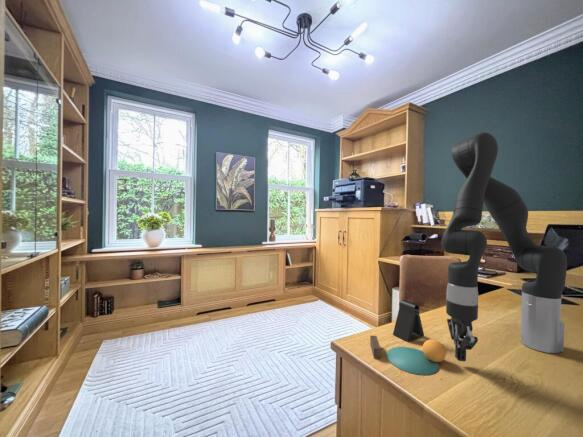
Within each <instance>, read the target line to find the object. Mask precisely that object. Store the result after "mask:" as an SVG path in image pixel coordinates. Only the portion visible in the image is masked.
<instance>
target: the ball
mask: <svg viewBox="0 0 583 437" xmlns="http://www.w3.org/2000/svg"><path fill="white" fill-rule="evenodd" d="M422 351H423V352H424V355H425V356H426V357H427V358H428V359H429V360H431V361H433V362H438V363H441V362H443V361H444V360H445V359H446V356H447V352H446V351H447V350H446V347H445V346H444V345H443V344H442V343H441V342H440V341H439V340H437V339H432V338H431V339H427V340H426V341H424V343H423V344H422Z"/></svg>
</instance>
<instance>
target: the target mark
mask: <svg viewBox="0 0 583 437" xmlns="http://www.w3.org/2000/svg"><path fill="white" fill-rule="evenodd" d="M386 359H387V360H388V361H389V363H390V364H391V365H393V366H394V367H395V368H397V369H399V370H401V371H404V372H405V373H408V374H414V375H419V376H429V375H433V374H435V373H437V372H438V371H439V369H440V366H439V362H433V361H431V360H429V359H428V358H427V357H426V356H425V355H424V352H423V350H421V349H418V348H413V347H407V346H395V347H392V348H390V349H388V350H387V351H386Z"/></svg>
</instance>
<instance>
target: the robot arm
mask: <svg viewBox="0 0 583 437" xmlns="http://www.w3.org/2000/svg"><path fill="white" fill-rule="evenodd" d="M450 151H451V152H450V153H451V158H452V160H453V162H454V163H455V165H456V167H457V168H458V170H459V171H460V172H461V173H462V175H463V176H464V177H465V178H466V180H465V181H464V182H463V184H462V185H461V187H460V188H459V190H458V192H457V194H456V195H455V199H454V205H453V211H452V216H451V219H450V221H449V223H448V225H447V227H446V229H445V230H444V232H443V235H442V237H441V241H440V242H441V247H442V249H443V251H445V253H446V254H452V255H460V256H461V255H462V256H468V257H469V258H468V260H465V261H459V262H458V261H454V262H450V263H449V265H448V267H447V285H446V286H447V287H446V298H445V300H446V302H445V304H446V306H445V307H446V308H445V312H446V314H447V315H448V316H449V317H450V318H447V319H446V321H447V322H446V323H447V325H448V326H447V327H448V330H449V335H450V338H451V340H452V341H453V344H454V347H455V348H454V353H455V354H454V357H455V358H456V360H457V361H459V362H466V361H467V351H472V349H473V348H474V346H475V345H476V344H477V343H478V341H479V339H478V337H477V336H474V335H473V331H474V329H473V328H474V327H473V322H474V321H477V320H478V319H479V317H478V316H479V291H478V290H479V289H478V282H479V281H478V279H479V278H478V276H479V275H478V274H479V268H480V265H481V264H480V263H481V260H482V258H483V256H484V253H485V251H486V249H487V245H488V240H487V237H486V235H485V234H484V233H483V232H481V231H480V230H467V229H466V230H465V229H464V228H468V227H473V226H477V225H479V224H481V221H482V216H483V209H484V206H485V208H486V210H487V212H488V213H489V215H490V216H491V218H492V219H493V221H494V222H495V223H496V225H497V227H498V229H499V230H500V231H501V233H502V235H503V237H504V239H505V240H506V242H507V244H508V247H509V249H510V251H511V253H512V256H513V257H514V259H515V261H516V263H517V264H518V266H519V267H520V268H522V269H523V270H525V271H527V272H531V273H535V274H536V277H535V280H534V281H526V282H525V281H524V282H523V283H522V284H521V315H520V316H521V318H520V320H521V321H520V343H522V344H523V345H524V346H526V347H528V348H530V349H533V350H535V351H539V352H542V353H547V354H559V353H564V351H565V322H564V321H563V320H561V319H562V318H561V317H562V294H563V292H564V289H565V287H566V279H567V278H566V277H567V270H568V261H567V260H568V259H567V256H566V253H565V252H564V251H563V250H562V249H561V248H559V247H554V246H549V245H548V246H547V245H540V244H536V243H535V242H534V240H533V238H531V236H530V234H529V233H528V231H527V225H528V220H529V209H528V207H527V205H526V203H525V201H524V199H523V198H522V197H521V195H520V193H519V192H518V191H517V190H516V189H515V188H514V187H512V186H510V185H507V184H506V183H504V182H502V181H500V180H498V179H497V178H496V179H495V178H494V177H492V173H493V170H494V166H495V163H496V161H497V157H498V152H499V146H498V141H497V139H496V138H495V137H494V136H493V134H491V133H489V132H480V133H477V134H476V135H472V136H471V137H469V138H467V139H464V140H462V141H460V142H458V143H456V144H454V145H453V146H452V147H451V150H450ZM462 229H463V230H462Z"/></svg>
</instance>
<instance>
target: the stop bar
mask: <svg viewBox="0 0 583 437" xmlns="http://www.w3.org/2000/svg"><path fill="white" fill-rule="evenodd" d="M369 338H370V340H369V345H370V348H371V353H372V356H373V359H382V349H381V345H380V342H379V339H378V336H377V335H370V337H369Z"/></svg>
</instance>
